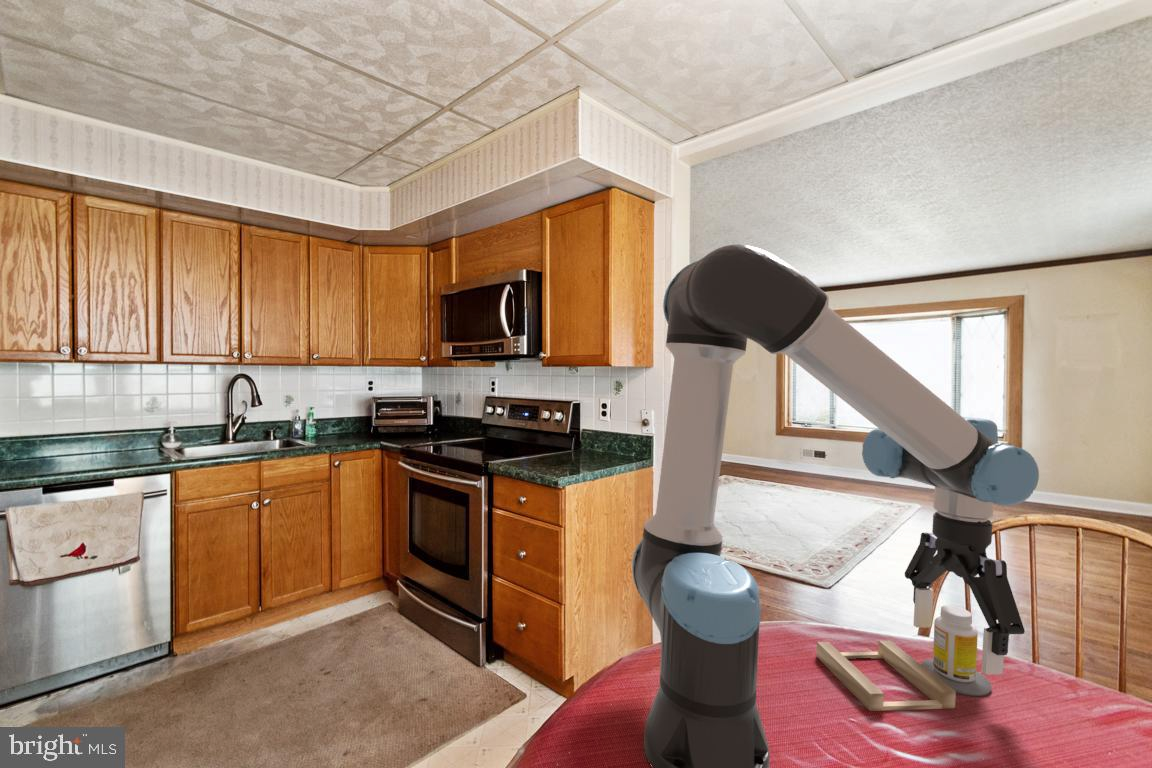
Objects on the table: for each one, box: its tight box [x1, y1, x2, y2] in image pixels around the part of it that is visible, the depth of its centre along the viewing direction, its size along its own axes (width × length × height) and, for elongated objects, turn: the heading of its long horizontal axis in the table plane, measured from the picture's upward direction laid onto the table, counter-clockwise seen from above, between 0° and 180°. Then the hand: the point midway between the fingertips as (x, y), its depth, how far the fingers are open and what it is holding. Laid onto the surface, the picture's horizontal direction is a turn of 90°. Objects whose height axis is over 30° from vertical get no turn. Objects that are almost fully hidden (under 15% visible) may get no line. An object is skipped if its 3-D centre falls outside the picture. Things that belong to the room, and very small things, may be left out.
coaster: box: [920, 658, 992, 697], centre depth 83 cm, size 9×9×1 cm
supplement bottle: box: [932, 604, 979, 683], centre depth 83 cm, size 6×6×10 cm
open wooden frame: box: [816, 639, 957, 712], centre depth 82 cm, size 13×14×2 cm
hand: (954, 648), depth 82 cm, fingers open, 13 cm apart
